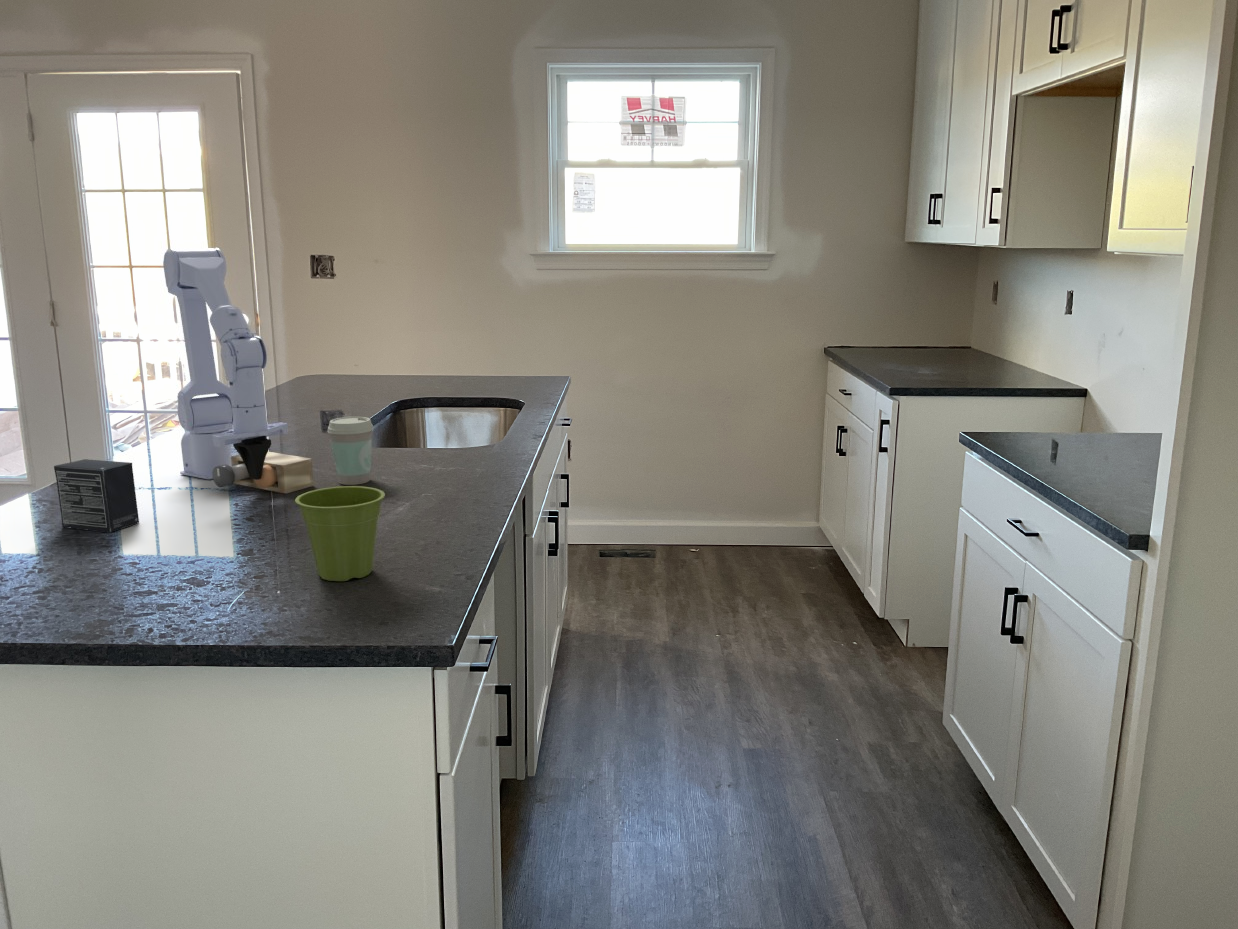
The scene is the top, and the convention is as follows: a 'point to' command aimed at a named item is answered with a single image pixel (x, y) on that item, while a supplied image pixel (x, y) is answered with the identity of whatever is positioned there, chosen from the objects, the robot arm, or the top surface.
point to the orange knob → (267, 477)
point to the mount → (283, 472)
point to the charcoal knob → (229, 474)
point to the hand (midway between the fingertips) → (255, 478)
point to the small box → (97, 495)
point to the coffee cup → (351, 448)
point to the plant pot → (342, 529)
